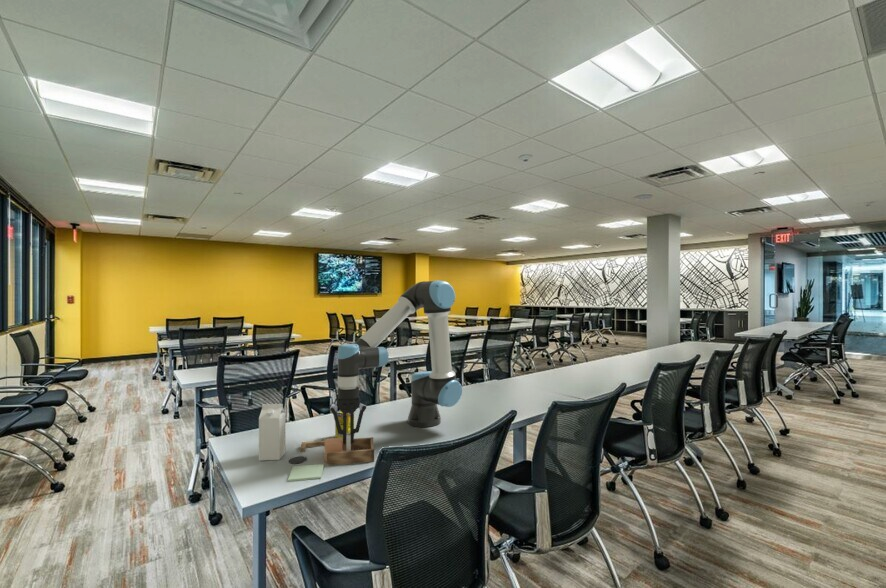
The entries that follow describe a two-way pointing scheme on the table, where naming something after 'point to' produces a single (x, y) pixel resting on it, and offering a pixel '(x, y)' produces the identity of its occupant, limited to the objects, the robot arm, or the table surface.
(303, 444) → the oak crook tool
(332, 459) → the walnut stall
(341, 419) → the supplement box
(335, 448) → the terracotta block
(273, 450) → the milk carton
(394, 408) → the table surface
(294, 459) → the hole disc
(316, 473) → the felt pad
